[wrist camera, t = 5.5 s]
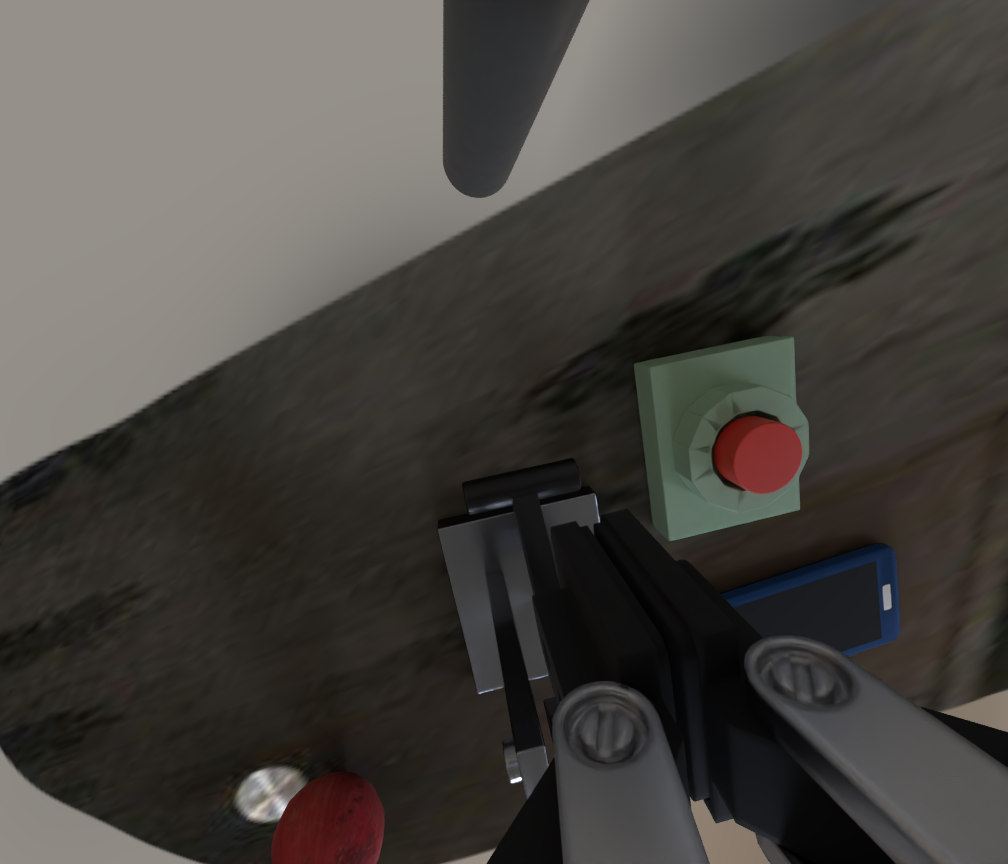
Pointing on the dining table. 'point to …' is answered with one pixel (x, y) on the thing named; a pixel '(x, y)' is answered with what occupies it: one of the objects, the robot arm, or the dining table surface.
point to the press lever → (528, 518)
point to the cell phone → (829, 601)
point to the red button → (758, 454)
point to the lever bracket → (506, 614)
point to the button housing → (713, 431)
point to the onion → (331, 823)
